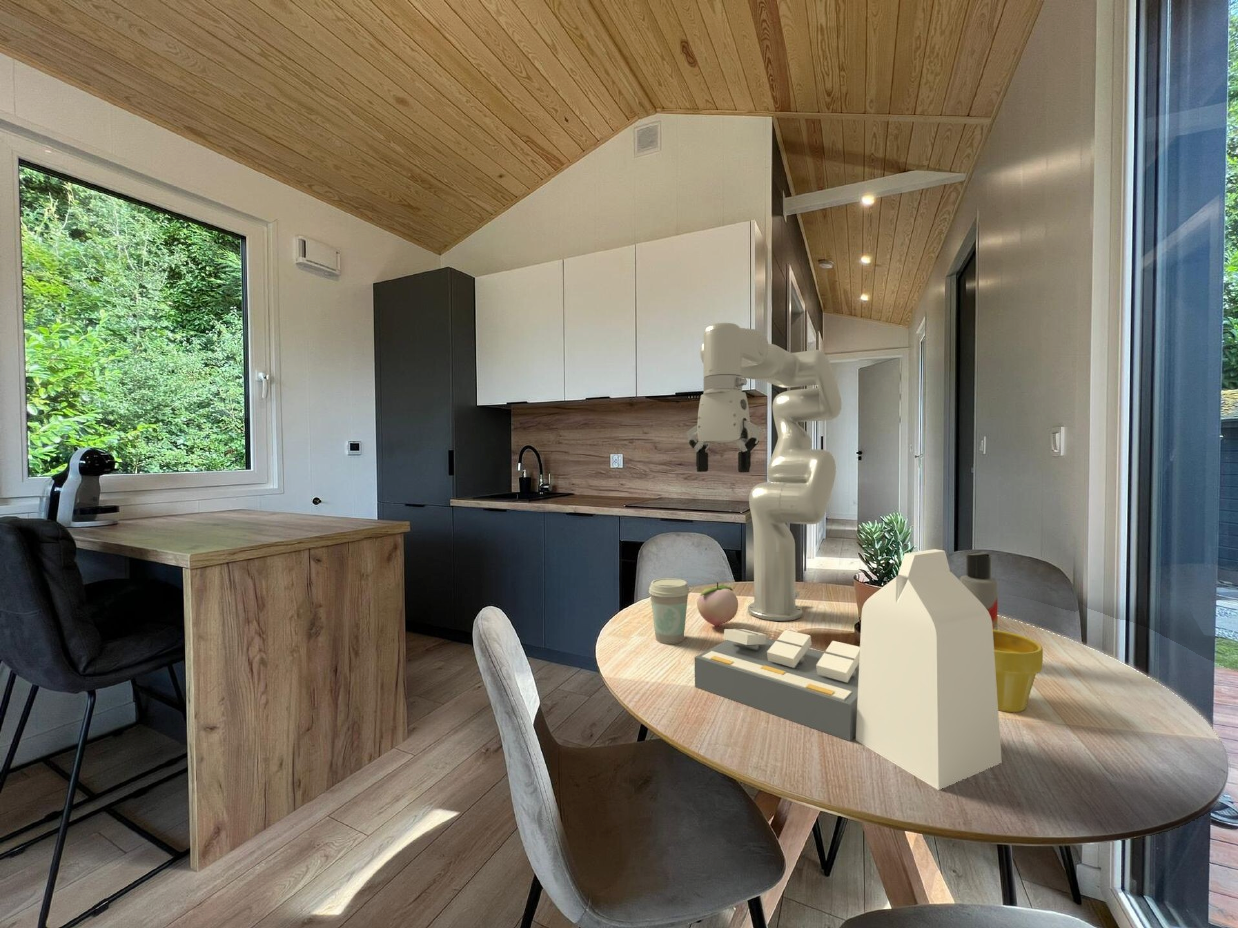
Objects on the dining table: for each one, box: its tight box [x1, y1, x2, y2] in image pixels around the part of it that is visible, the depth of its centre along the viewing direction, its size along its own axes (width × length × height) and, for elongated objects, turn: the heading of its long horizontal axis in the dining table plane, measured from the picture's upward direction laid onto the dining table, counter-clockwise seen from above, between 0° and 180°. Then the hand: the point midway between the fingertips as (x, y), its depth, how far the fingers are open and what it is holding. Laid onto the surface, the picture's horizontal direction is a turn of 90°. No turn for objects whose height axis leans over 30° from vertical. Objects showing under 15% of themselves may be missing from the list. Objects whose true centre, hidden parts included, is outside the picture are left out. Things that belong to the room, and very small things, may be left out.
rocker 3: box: [816, 640, 860, 682], centre depth 79 cm, size 7×4×2 cm, turn 138°
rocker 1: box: [723, 627, 768, 645], centre depth 90 cm, size 7×4×2 cm, turn 137°
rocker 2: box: [767, 629, 812, 668], centre depth 85 cm, size 7×4×2 cm, turn 138°
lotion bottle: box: [959, 551, 999, 630], centre depth 96 cm, size 6×6×20 cm
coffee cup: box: [648, 577, 691, 645], centre depth 109 cm, size 8×9×12 cm
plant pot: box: [993, 629, 1044, 713], centre depth 80 cm, size 10×10×10 cm
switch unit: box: [694, 637, 859, 742], centre depth 84 cm, size 16×25×6 cm, turn 47°
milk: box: [855, 548, 1003, 791], centre depth 67 cm, size 12×12×26 cm
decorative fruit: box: [696, 581, 739, 628], centre depth 116 cm, size 9×8×10 cm
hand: (722, 471), depth 104 cm, fingers open, 9 cm apart
